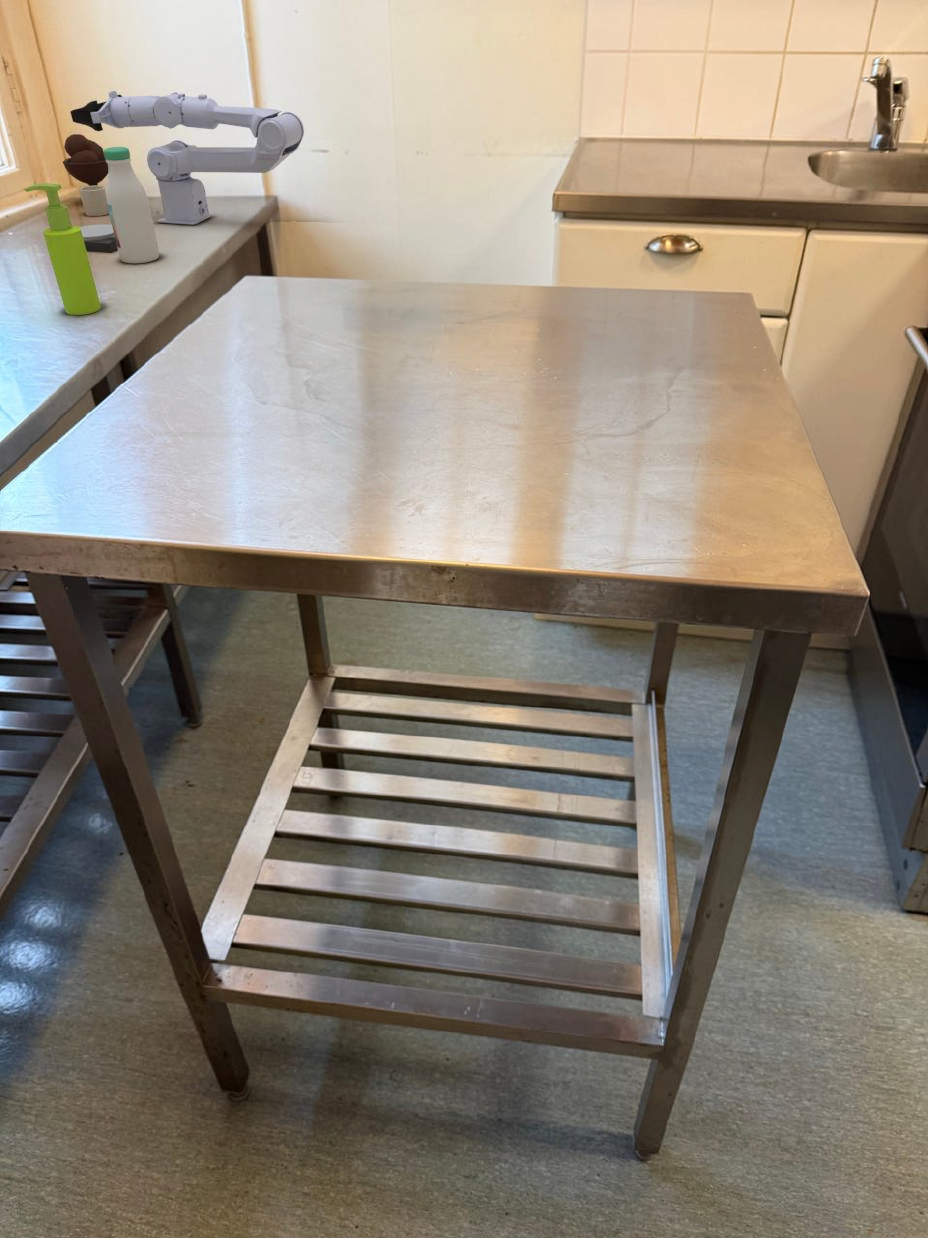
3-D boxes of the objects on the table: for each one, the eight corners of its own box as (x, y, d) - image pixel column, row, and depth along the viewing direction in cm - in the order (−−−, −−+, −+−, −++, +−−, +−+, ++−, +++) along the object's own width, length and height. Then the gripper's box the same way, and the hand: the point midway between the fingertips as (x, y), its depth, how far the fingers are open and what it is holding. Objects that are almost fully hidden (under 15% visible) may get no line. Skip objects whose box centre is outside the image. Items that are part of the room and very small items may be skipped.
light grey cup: (115, 210, 212) (109, 185, 209) (101, 216, 208) (95, 191, 205) (94, 209, 214) (88, 184, 210) (80, 215, 209) (74, 189, 206)
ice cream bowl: (106, 207, 215) (90, 137, 206) (64, 205, 217) (46, 136, 208) (128, 197, 223) (113, 129, 214) (88, 196, 225) (71, 128, 216)
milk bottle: (167, 254, 182) (145, 145, 170) (145, 265, 176) (120, 153, 164) (135, 251, 184) (111, 143, 172) (112, 262, 178) (85, 150, 166)
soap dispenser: (67, 303, 158) (32, 180, 146) (105, 303, 158) (74, 180, 146) (54, 314, 154) (17, 188, 141) (93, 314, 153) (60, 188, 141)
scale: (140, 238, 192) (137, 225, 191) (110, 252, 184) (107, 239, 182) (88, 234, 195) (85, 222, 194) (56, 248, 187) (53, 235, 185)
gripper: (149, 85, 196) (97, 87, 200) (111, 95, 185) (56, 97, 189) (158, 121, 200) (106, 123, 204) (121, 133, 189) (67, 134, 193)
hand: (83, 113), depth 197 cm, fingers open, 7 cm apart
